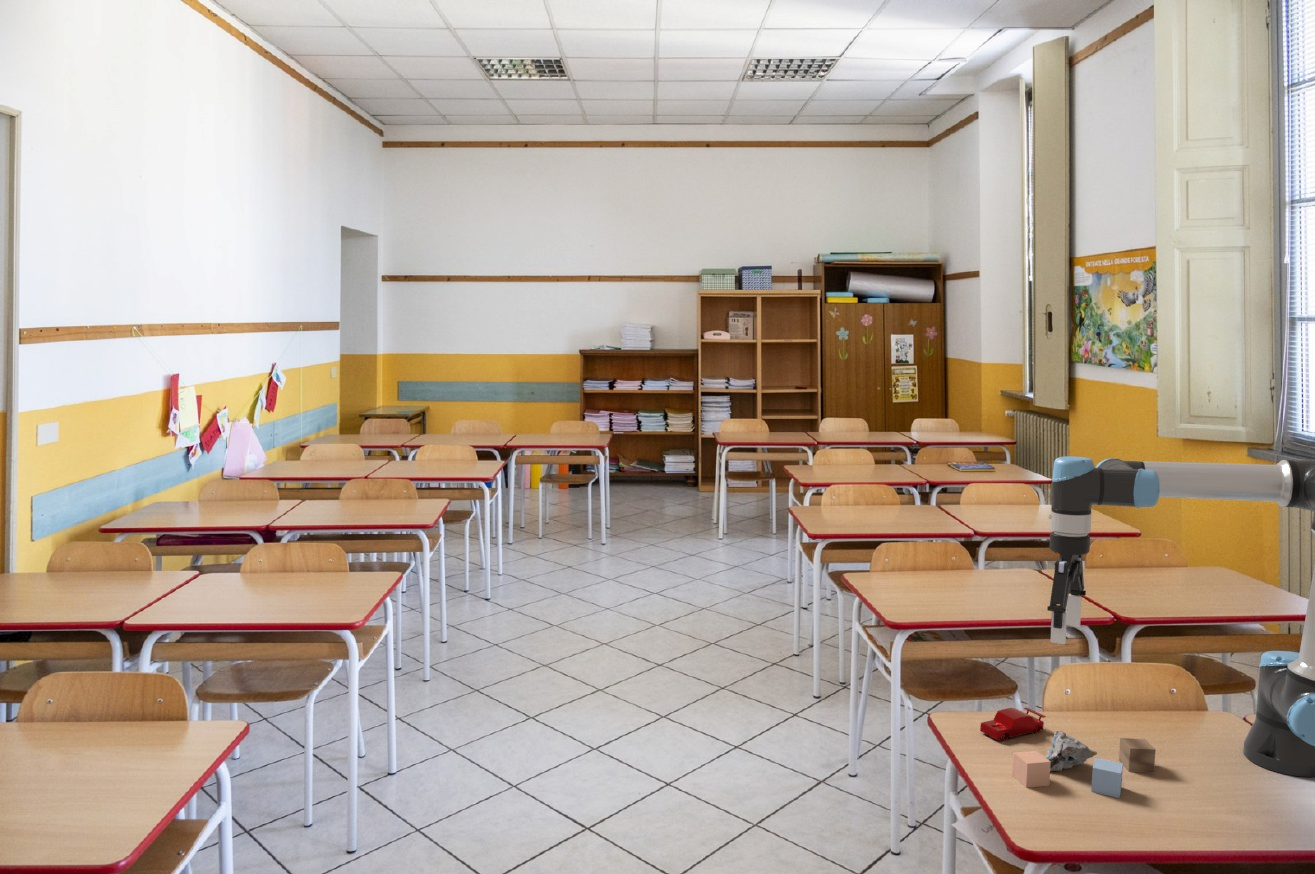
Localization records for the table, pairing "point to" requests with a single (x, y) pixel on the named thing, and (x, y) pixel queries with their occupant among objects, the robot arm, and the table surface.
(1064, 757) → the mineral specimen
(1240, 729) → the table surface
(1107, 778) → the slate-blue cube
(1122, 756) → the walnut cube
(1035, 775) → the salmon-pink cube
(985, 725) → the toy car
